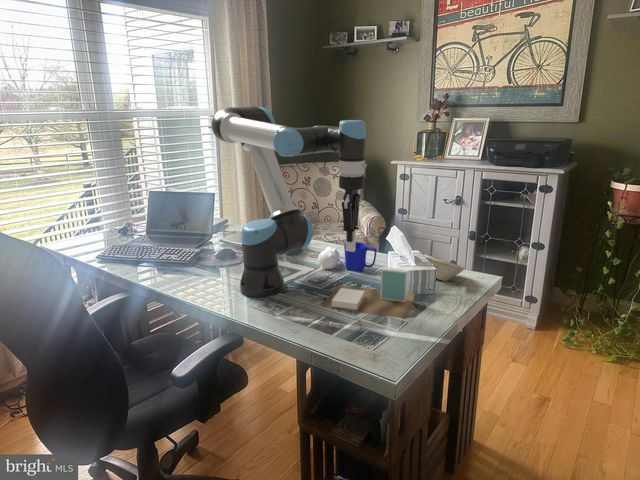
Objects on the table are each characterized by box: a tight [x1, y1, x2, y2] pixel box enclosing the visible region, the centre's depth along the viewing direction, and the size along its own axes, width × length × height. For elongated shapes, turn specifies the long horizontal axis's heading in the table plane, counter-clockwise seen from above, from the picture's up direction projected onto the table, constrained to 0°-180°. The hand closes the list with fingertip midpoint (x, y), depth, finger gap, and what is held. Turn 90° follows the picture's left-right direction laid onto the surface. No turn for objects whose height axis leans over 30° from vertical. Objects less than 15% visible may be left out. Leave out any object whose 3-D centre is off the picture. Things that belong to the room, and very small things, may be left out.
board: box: [321, 284, 416, 319], centre depth 141 cm, size 26×18×1 cm
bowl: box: [422, 253, 465, 282], centre depth 158 cm, size 15×14×10 cm
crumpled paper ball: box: [317, 246, 346, 271], centre depth 171 cm, size 9×11×12 cm
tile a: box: [332, 288, 365, 310], centre depth 140 cm, size 8×2×10 cm
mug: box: [343, 241, 378, 273], centre depth 167 cm, size 8×12×10 cm
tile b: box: [380, 266, 409, 302], centre depth 140 cm, size 8×2×10 cm, turn 71°
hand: (350, 250), depth 138 cm, fingers closed
